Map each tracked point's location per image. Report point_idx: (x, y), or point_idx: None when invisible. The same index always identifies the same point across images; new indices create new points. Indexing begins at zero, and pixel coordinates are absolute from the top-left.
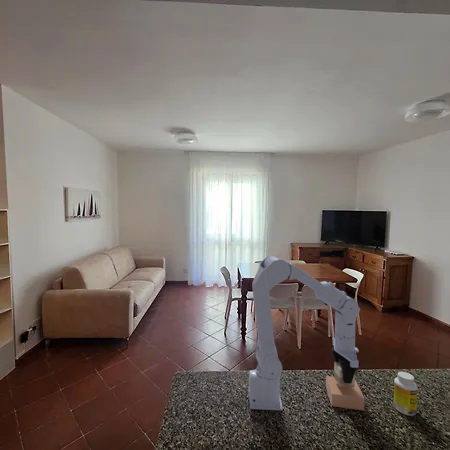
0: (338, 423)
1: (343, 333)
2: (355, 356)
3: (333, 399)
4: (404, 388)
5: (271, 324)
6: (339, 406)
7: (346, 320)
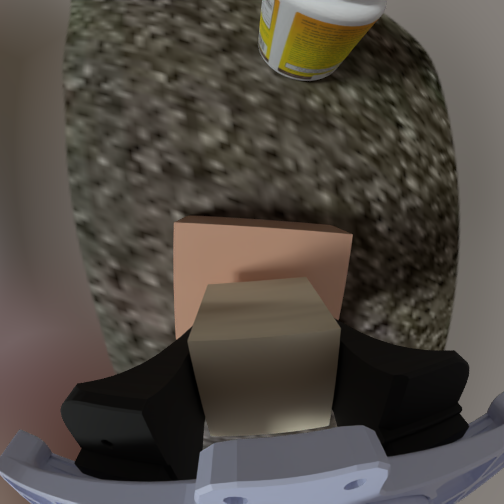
0: (390, 339)
1: None
2: (500, 455)
3: None
4: (381, 14)
5: None
6: None
7: None
